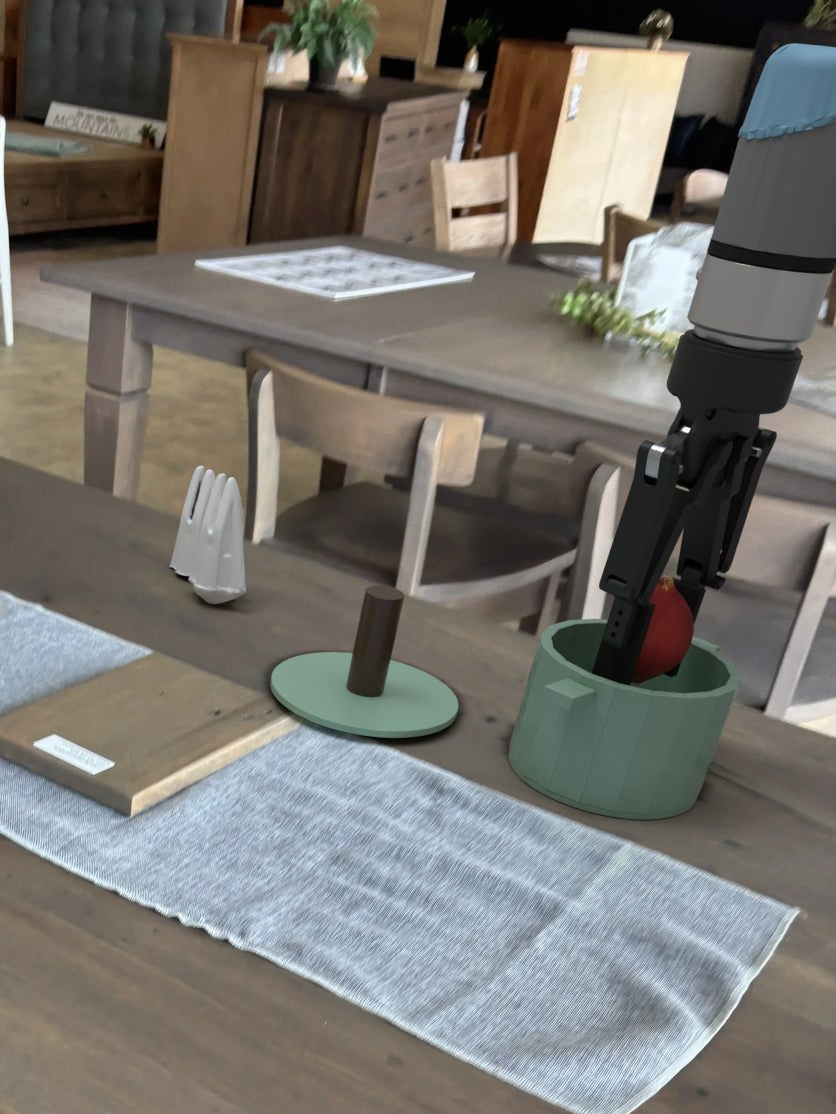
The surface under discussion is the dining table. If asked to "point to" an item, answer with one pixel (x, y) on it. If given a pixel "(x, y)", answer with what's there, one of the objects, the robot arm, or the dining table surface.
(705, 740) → the pot
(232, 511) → the gray pronged block
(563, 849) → the dining table surface
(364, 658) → the lid
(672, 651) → the onion
